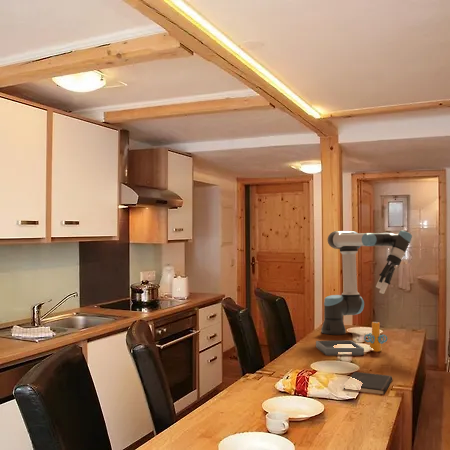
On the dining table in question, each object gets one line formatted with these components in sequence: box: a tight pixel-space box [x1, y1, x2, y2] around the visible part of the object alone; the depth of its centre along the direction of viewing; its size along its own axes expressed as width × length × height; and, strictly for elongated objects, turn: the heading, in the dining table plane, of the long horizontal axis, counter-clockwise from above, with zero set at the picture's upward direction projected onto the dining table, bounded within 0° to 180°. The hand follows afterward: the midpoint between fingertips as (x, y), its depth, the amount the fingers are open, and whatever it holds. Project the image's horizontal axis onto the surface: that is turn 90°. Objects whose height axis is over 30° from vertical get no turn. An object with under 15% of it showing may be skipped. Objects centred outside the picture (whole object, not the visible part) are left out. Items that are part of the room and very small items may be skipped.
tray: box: [315, 339, 365, 356], centre depth 280 cm, size 20×20×4 cm
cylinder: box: [363, 321, 388, 353], centre depth 281 cm, size 12×10×15 cm
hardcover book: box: [349, 371, 393, 396], centre depth 216 cm, size 16×23×2 cm
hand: (379, 290), depth 293 cm, fingers open, 13 cm apart
